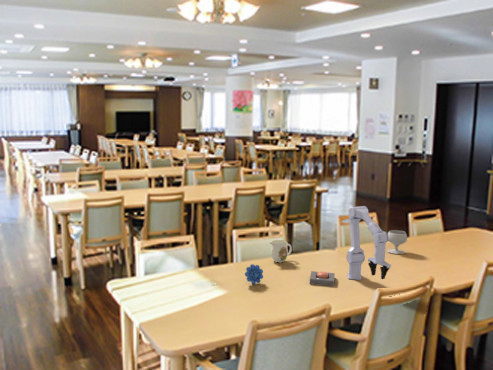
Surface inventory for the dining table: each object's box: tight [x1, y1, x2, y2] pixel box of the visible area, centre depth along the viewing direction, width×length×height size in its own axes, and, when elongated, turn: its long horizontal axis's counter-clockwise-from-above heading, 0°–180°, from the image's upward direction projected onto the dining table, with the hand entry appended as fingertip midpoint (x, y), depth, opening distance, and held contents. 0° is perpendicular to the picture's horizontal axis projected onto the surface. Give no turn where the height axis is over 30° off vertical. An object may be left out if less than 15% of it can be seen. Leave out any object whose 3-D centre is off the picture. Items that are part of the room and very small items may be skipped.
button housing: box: [309, 270, 335, 287], centre depth 282 cm, size 14×14×3 cm
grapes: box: [244, 263, 264, 285], centre depth 273 cm, size 12×7×12 cm, turn 114°
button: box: [316, 271, 329, 279], centre depth 281 cm, size 7×7×2 cm
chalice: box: [386, 229, 408, 255], centre depth 343 cm, size 14×14×15 cm
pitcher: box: [269, 239, 293, 263], centre depth 316 cm, size 11×18×14 cm, turn 122°
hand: (378, 276), depth 266 cm, fingers open, 6 cm apart
